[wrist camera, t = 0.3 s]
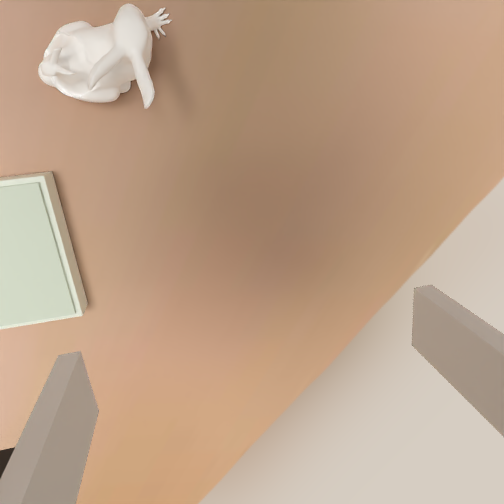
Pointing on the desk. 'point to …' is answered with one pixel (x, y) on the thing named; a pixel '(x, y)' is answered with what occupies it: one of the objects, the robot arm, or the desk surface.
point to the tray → (36, 254)
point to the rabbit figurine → (103, 57)
